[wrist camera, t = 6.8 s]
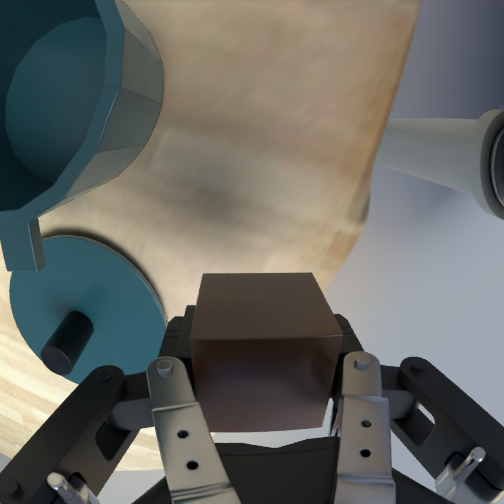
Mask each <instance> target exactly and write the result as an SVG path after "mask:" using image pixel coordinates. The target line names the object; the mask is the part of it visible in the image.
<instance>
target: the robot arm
mask: <svg viewBox="0 0 504 504" xmlns="http://www.w3.org/2000/svg"><path fill="white" fill-rule="evenodd" d="M489 179H490V184H491V188H492V191H493V194H494V196H495V198H496V200H497V201H498V203H499V204H500V205H501V206H502V207H504V125H503V126H502V127H501V128H500V129H499V130H498V132H497V133H496V135H495V137H494V139H493V142H492V145H491V149H490V154H489ZM329 307H330V306H329ZM195 308H196V305H187V307H186V311H185V315H184V317H183V316H175V317H174V318H173V319H172V320H171V321H170V322H168V325H167V328H166V332H165V334H164V338H163V341H162V344H161V347H160V351H159V354H158V357H157V359H154V360H153V361H151V362H150V363H149V364H148V366H147V368H146V371H144V372H141V373H136V374H129V375H125V374H124V372H123V370H122V369H121V368H119V367H117V366H114V365H103V366H100V367H97V368H95V369H94V370H93V371H91V372H90V373H89V375H88V376H87V377H86V378H85V379H84V380H83V381H82V382H81V383H80V384H79V385H78V386H77V387H76V389H75V390H74V391H73V392H72V393H71V394H70V395H69V396H68V397H67V398H66V399H65V400H64V402H63V403H62V404H61V405H60V406H59V407H58V408H57V409H56V410H55V411H54V413H53V414H52V415H51V416H50V417H49V418H48V419H47V420H46V421H45V423H44V424H43V425H42V426H41V427H40V428H39V429H38V430H37V432H36V433H35V434H34V435H33V436H32V437H31V438H30V439H29V441H28V442H27V443H26V444H25V445H24V446H23V447H22V449H21V450H20V451H19V452H18V453H17V454H16V455H15V457H14V458H13V459H12V460H11V461H10V462H9V464H8V465H7V466H6V467H5V468H4V469H3V471H2V472H1V473H0V503H1V504H100V502H99V500H98V499H97V498H96V497H97V496H98V494H99V493H100V491H101V490H102V488H103V487H104V485H105V483H106V482H107V480H108V479H109V477H110V476H111V474H112V473H113V471H114V470H115V468H116V467H117V465H118V463H119V462H120V460H121V459H122V457H123V456H124V454H125V453H126V451H127V450H128V448H129V446H130V445H131V443H132V442H133V440H134V439H135V437H136V436H137V434H138V433H139V431H140V429H142V428H148V427H154V426H155V431H156V436H157V441H158V445H159V450H160V454H161V459H162V463H163V467H164V471H165V476H164V477H163V478H162V479H161V480H160V481H158V482H157V483H156V484H155V485H154V486H153V487H151V488H150V489H149V490H148V491H147V492H145V493H144V494H143V495H142V496H140V497H139V498H138V499H137V500H135V501H134V502H133V503H132V504H494V503H495V502H496V501H497V500H498V499H499V498H500V497H501V496H503V495H504V427H503V426H502V425H501V424H500V423H499V422H497V420H495V419H494V418H493V417H492V416H491V415H490V414H489V413H488V412H486V411H485V410H484V409H483V408H482V407H481V406H480V405H478V404H477V403H476V402H475V401H474V400H473V399H472V398H470V397H469V396H468V395H467V394H466V393H465V392H463V391H462V390H461V389H460V388H459V387H458V386H457V385H455V384H454V383H453V382H452V381H451V380H450V379H448V378H447V377H446V376H445V375H444V374H443V373H441V372H440V371H439V370H438V369H437V368H436V367H434V366H433V365H432V364H431V363H430V362H428V361H427V360H425V359H423V358H420V357H408V358H406V359H404V360H403V361H402V362H401V365H400V367H394V366H385V365H380V362H379V360H378V359H377V358H376V357H375V356H374V355H372V354H370V353H368V352H365V351H364V350H363V348H362V346H361V344H360V342H359V340H358V338H357V337H356V335H355V334H354V331H353V329H352V328H351V326H350V324H349V322H348V320H347V319H346V318H344V317H343V316H341V315H340V314H333V315H334V317H335V319H336V321H337V323H338V325H339V327H340V329H341V331H342V333H343V338H342V343H341V348H340V353H339V358H338V362H337V367H336V371H335V376H334V380H333V385H332V389H331V393H330V397H329V398H332V399H333V406H332V410H331V418H330V426H329V433H328V437H322V438H313V439H306V440H303V441H299V442H296V443H293V444H289V445H286V446H282V447H279V448H270V447H263V446H257V445H251V444H245V443H214V442H213V439H212V436H211V434H210V431H209V428H208V426H207V423H206V420H205V417H204V415H203V412H202V409H201V406H200V404H199V401H197V395H196V388H195V381H194V373H193V366H192V357H191V349H190V340H189V338H190V333H191V328H192V323H193V318H194V313H195ZM330 309H331V308H330ZM331 311H332V310H331ZM332 313H333V312H332ZM419 404H421V405H422V406H424V407H425V409H427V411H428V412H429V413H431V414H432V416H433V417H434V420H435V425H434V424H433V423H432V422H431V421H430V420H429V419H428V418H427V417H426V416H425V415H424V414H423V413H422V412H421V411H420V410H419V409H418V407H419ZM390 429H391V430H392V431H393V433H394V434H395V435H396V436H397V437H398V438H399V439H400V440H401V442H402V443H403V444H404V445H405V446H406V447H407V449H408V450H409V451H410V452H411V453H412V454H413V455H414V457H415V458H416V459H417V460H418V461H419V462H420V463H421V464H422V466H423V467H424V468H425V469H426V470H427V471H428V472H429V473H430V475H431V476H432V477H433V478H434V479H435V480H436V481H435V488H436V490H437V492H436V493H435V492H433V491H432V490H430V489H428V488H426V487H424V486H422V485H421V484H419V483H417V482H416V481H414V480H412V479H410V478H409V477H407V476H406V475H404V474H402V473H400V472H399V471H397V470H396V469H394V468H392V459H391V430H390Z"/></svg>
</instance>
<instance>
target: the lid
mask: <svg viewBox="0 0 504 504" xmlns="http://www.w3.org/2000/svg"><path fill="white" fill-rule="evenodd" d="M42 246H43V251H44V256H45V261H46V266H45V267H43V268H42V269H41V270H40V271H39V272H17V271H13V272H12V275H11V280H10V289H9V293H10V304H11V309H12V313H13V317H14V320H15V322H16V325H17V327H18V329H19V331H20V333H21V335H22V337H23V338H24V340H25V341H26V343H27V344H28V346H29V347H30V348H31V350H32V351H33V352H34V353H35V354H36V355H37V356H38V358H39V359H40V360H41V361H43V363H44V364H45V366H46V367H47V368H48V369H49V370H51V371H52V372H53V373H55V374H58V375H61V376H62V377H64V378H66V379H68V380H70V381H72V382H74V383H77V384H80V383H81V382H82V381H83V380H84V379H85V378H86V377H87V376H88V375H89V373H90V372H91V371H93V370H94V369H95V368H97V367H100V366H103V365H114V366H117V367H119V368H121V369H122V370H123V372H124V374H125V375H129V374H136V373H141V372H144V371H146V368H147V366H148V364H149V363H150V362H151V361H153V360H154V359H157V357H158V354H159V351H160V347H161V344H162V341H163V338H164V334H165V332H166V328H167V322H166V318H165V314H164V311H163V308H162V305H161V303H160V301H159V299H158V297H157V295H156V293H155V291H154V289H153V288H152V286H151V285H150V283H149V282H148V281H147V279H146V278H145V277H144V276H143V274H142V273H141V272H140V271H139V270H138V269H137V268H136V267H135V266H134V265H133V264H132V263H131V262H130V261H129V260H127V259H126V258H125V257H124V256H122V255H121V254H120V253H118V252H117V251H115V250H113V249H112V248H110V247H109V246H107V245H104V244H102V243H100V242H98V241H96V240H93V239H90V238H87V237H82V236H77V235H55V236H51V237H47V238H44V239H42Z"/></svg>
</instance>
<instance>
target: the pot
mask: <svg viewBox="0 0 504 504" xmlns="http://www.w3.org/2000/svg"><path fill="white" fill-rule="evenodd" d="M163 90H164V73H163V63H162V61H161V58H160V55H159V52H158V49H157V47H156V45H155V43H154V41H153V39H152V37H151V34H150V32H149V31H148V30H147V29H146V27H145V26H144V25H143V24H142V23H141V22H140V20H139V19H138V18H137V17H136V16H135V15H134V13H133V12H132V11H131V10H130V9H129V8H128V6H127V5H126V4H125V3H124V2H123V1H122V0H0V241H1V246H2V251H3V256H4V260H5V264H6V269H7V271H17V272H39V271H40V270H41V269H42V268H43V267H45V266H46V261H45V256H44V251H43V246H42V240H41V234H40V228H39V221H38V217H40V216H42V215H44V214H46V213H48V212H49V211H51V210H53V209H55V208H57V207H59V206H61V205H63V204H65V203H67V202H69V201H71V200H73V199H75V198H77V197H79V196H81V195H83V194H85V193H87V192H89V191H91V190H93V189H95V188H96V187H98V186H100V185H102V184H104V183H106V182H108V181H109V180H111V179H113V178H115V177H117V176H118V175H119V174H121V172H122V171H123V170H124V169H125V168H126V167H127V166H128V165H129V164H130V163H131V162H132V161H133V160H134V159H135V158H136V157H137V155H138V154H139V153H140V151H141V150H142V149H143V147H144V146H145V144H146V143H147V141H148V139H149V137H150V135H151V133H152V131H153V129H154V127H155V125H156V122H157V119H158V116H159V113H160V109H161V104H162V100H163Z"/></svg>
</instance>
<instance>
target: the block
mask: <svg viewBox="0 0 504 504" xmlns="http://www.w3.org/2000/svg"><path fill="white" fill-rule="evenodd" d="M342 338H343V333H342V331H341V329H340V327H339V325H338V323H337V321H336V319H335V317H334V315H333V313H332V311H331V309H330V307H329V305H328V303H327V301H326V299H325V297H324V295H323V293H322V291H321V289H320V287H319V285H318V283H317V281H316V279H315V278H314V276H313V274H312V273H204V274H203V275H202V280H201V284H200V289H199V294H198V298H197V303H196V308H195V313H194V318H193V323H192V328H191V333H190V338H189V340H190V349H191V357H192V366H193V373H194V381H195V388H196V395H197V401H199V404H200V406H201V409H202V412H203V415H204V417H205V420H206V423H207V426H208V428H209V431H210V432H267V431H285V430H298V429H309V428H318V427H322V424H323V421H324V417H325V413H326V409H327V405H328V401H329V397H330V393H331V389H332V385H333V380H334V376H335V371H336V367H337V362H338V358H339V353H340V348H341V343H342Z"/></svg>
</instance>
